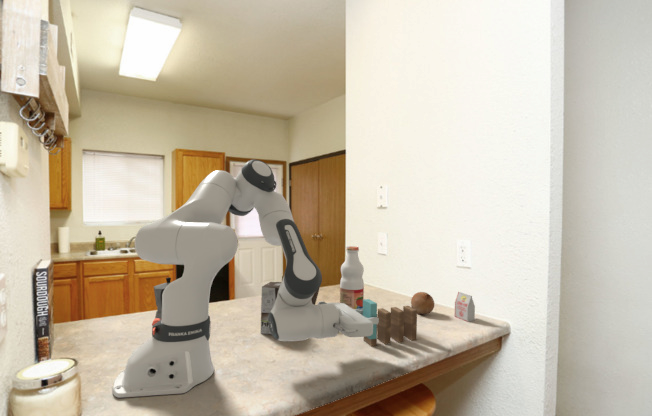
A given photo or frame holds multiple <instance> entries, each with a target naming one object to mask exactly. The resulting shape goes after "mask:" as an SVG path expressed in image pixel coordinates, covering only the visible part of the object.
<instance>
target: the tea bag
mask: <svg viewBox="0 0 652 416" xmlns="http://www.w3.org/2000/svg"><path fill="white" fill-rule="evenodd" d="M475 308H476V305H475V303H474V299H473V295H470V294H468V293H463V292H461V291H458V292H457V295H456V298H455V301H454V317H455V318H456V319H460V320H462V321H465V322H467V323H469V322H475V319H476V318H475V317H476V316H475V315H476V313H475V311H476V309H475Z"/></svg>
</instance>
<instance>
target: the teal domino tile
mask: <svg viewBox="0 0 652 416" xmlns="http://www.w3.org/2000/svg"><path fill="white" fill-rule="evenodd" d="M363 316H364V317H366V318H371V316H376V317H378V302H375V301H374V300H371V299H370V298H367V299H366V298H365V299H364V298H363ZM376 330H377V324H373V334H372V335H371V336H367V337H368V338H369V339H376Z"/></svg>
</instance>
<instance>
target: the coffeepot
mask: <svg viewBox="0 0 652 416" xmlns="http://www.w3.org/2000/svg"><path fill="white" fill-rule="evenodd" d="M165 280H166V282H164V283H160V284H157V285H155V286H154V285H153V293H154V297H155V300H154V301H155V306H156V307H157V311H156V313H155V317H154V319H156V318H159V319H160V320H162V294H163V291H164V289H165V288H166V287H167V285H169V284H170V283H171V282H172V278H171V277H168V276H167V277H166V278H165Z"/></svg>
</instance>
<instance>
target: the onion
mask: <svg viewBox="0 0 652 416" xmlns="http://www.w3.org/2000/svg"><path fill="white" fill-rule="evenodd" d="M410 300H411V301H410V304H411V306H410V307H412V308H414V309H416V310H417V314H418V315H429V314H431V313H432V312H433V310H434V308H435V301H434V298H433V296H431V294H429V293H428V292H425V291H419V292H416V293H414V294H413V295H412V297H411V299H410Z"/></svg>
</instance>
